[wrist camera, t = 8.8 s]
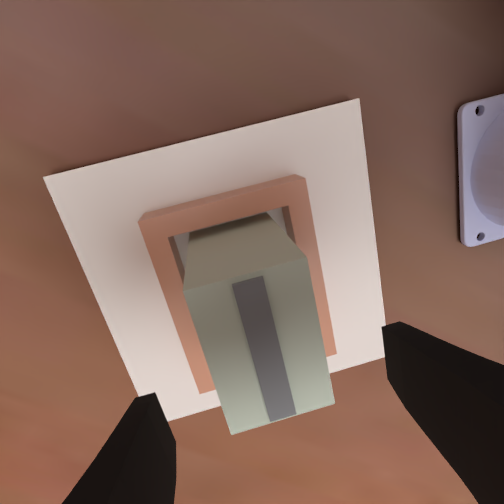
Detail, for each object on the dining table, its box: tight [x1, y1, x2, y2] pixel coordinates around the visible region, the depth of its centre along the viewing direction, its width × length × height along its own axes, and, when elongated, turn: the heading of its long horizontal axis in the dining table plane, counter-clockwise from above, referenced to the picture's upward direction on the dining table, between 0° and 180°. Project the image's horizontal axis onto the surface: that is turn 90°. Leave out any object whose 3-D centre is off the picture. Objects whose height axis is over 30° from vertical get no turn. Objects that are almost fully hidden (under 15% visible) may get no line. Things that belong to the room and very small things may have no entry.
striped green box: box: [183, 212, 335, 435], centre depth 15 cm, size 6×4×7 cm, turn 12°
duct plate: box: [43, 98, 386, 421], centre depth 18 cm, size 15×15×3 cm
